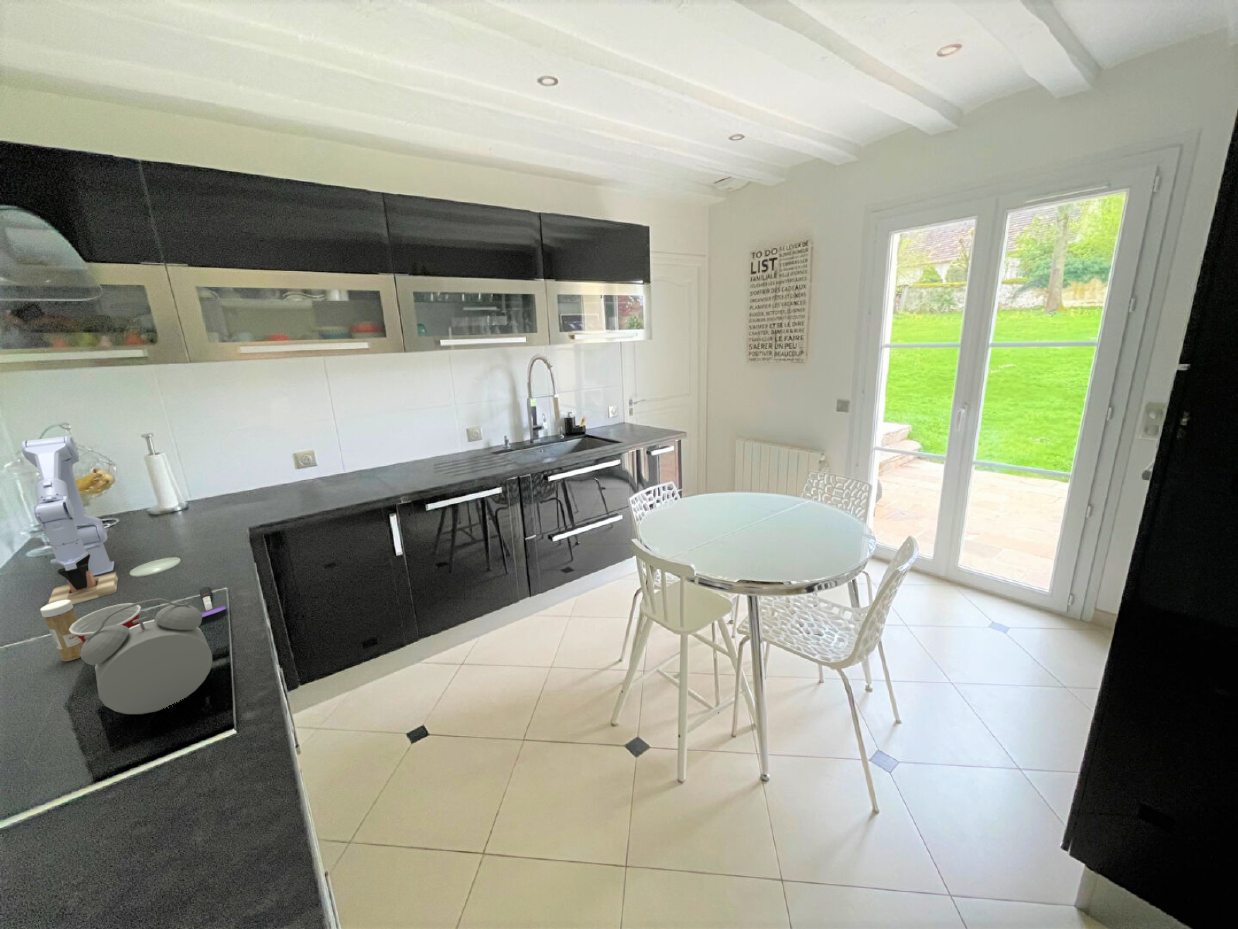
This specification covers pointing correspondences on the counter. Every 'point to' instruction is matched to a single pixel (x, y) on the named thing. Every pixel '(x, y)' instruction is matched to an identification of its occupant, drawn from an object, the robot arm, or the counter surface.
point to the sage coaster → (155, 566)
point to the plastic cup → (94, 619)
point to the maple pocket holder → (87, 590)
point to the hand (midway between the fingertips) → (83, 584)
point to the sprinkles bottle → (63, 628)
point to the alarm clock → (149, 659)
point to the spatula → (208, 602)
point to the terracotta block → (90, 582)
